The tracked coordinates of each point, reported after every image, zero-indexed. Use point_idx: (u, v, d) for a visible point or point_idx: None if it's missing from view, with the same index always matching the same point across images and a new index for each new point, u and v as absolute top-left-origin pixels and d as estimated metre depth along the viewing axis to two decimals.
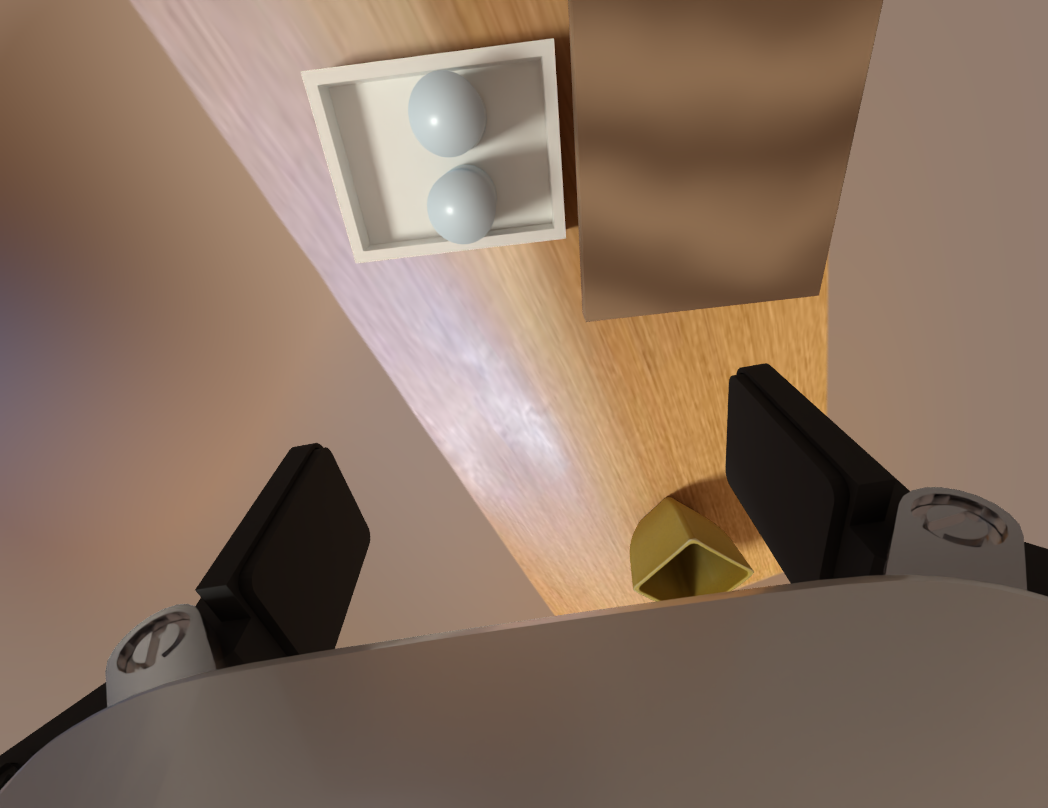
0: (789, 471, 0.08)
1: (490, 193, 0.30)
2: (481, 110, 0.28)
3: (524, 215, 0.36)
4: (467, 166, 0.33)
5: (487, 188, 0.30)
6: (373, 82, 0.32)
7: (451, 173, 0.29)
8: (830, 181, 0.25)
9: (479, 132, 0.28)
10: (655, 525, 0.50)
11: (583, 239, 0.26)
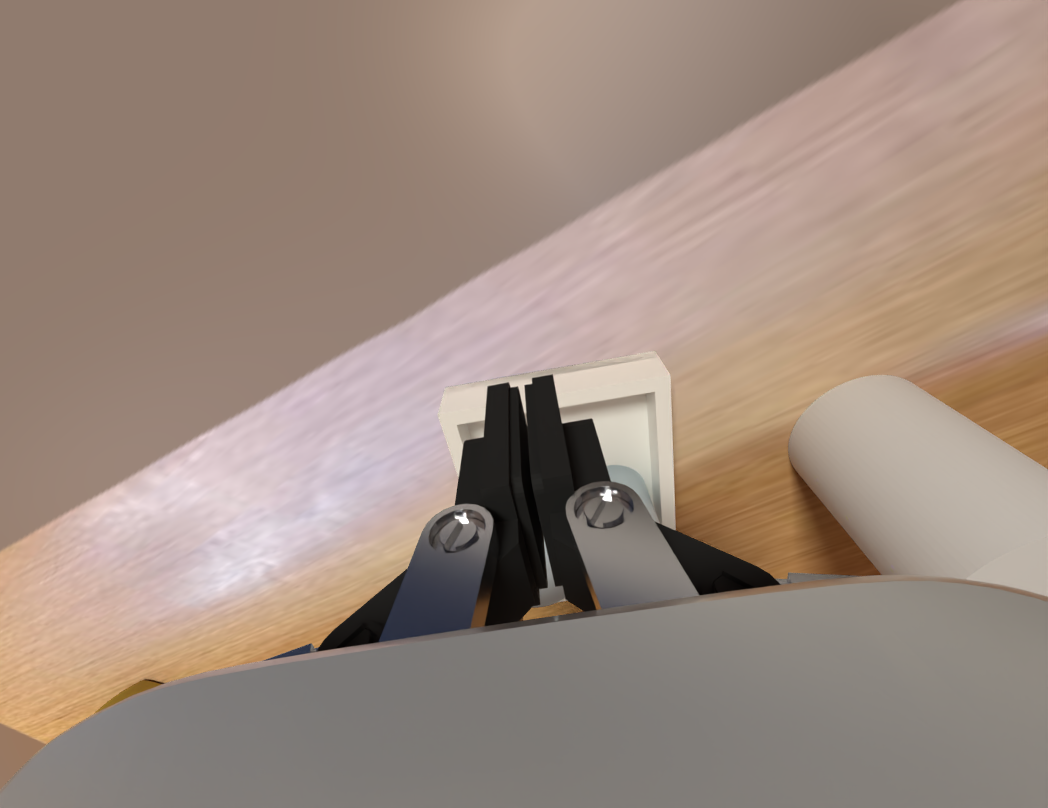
0: None
1: (553, 602, 0.26)
2: None
3: None
4: None
5: (558, 600, 0.26)
6: (646, 419, 0.27)
7: None
8: None
9: None
10: None
11: None
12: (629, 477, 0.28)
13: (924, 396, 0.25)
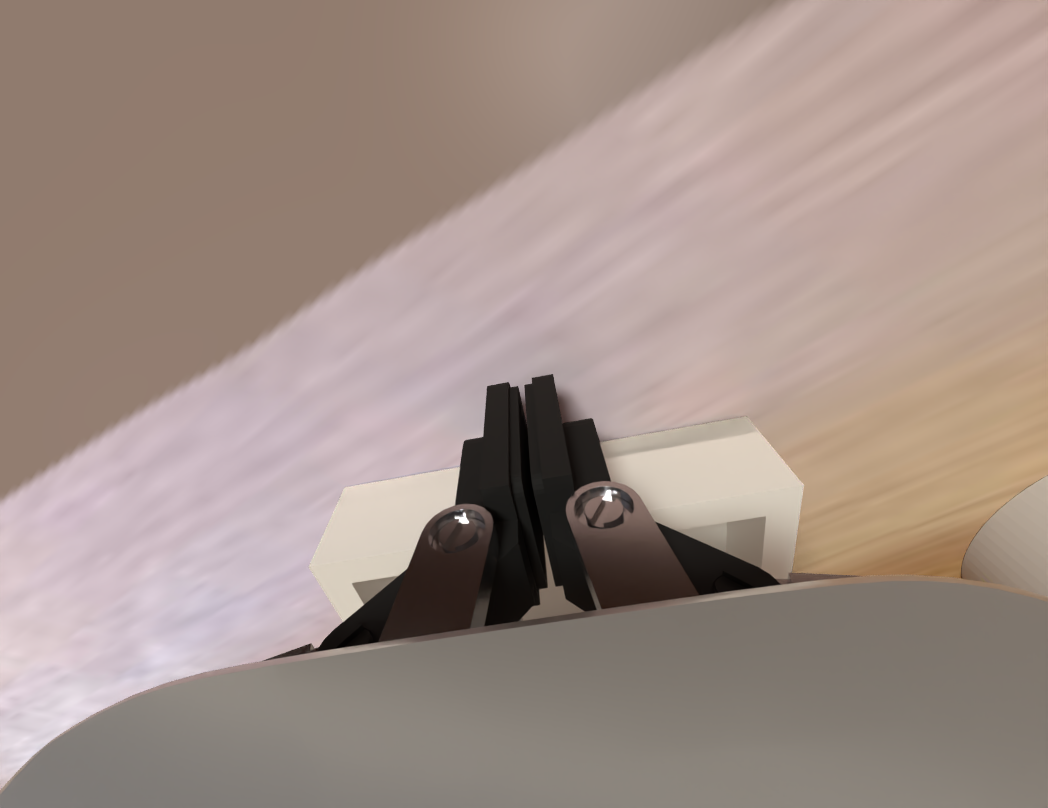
0: None
1: None
2: None
3: None
4: None
5: None
6: (724, 537, 0.15)
7: None
8: None
9: None
10: None
11: None
12: None
13: None
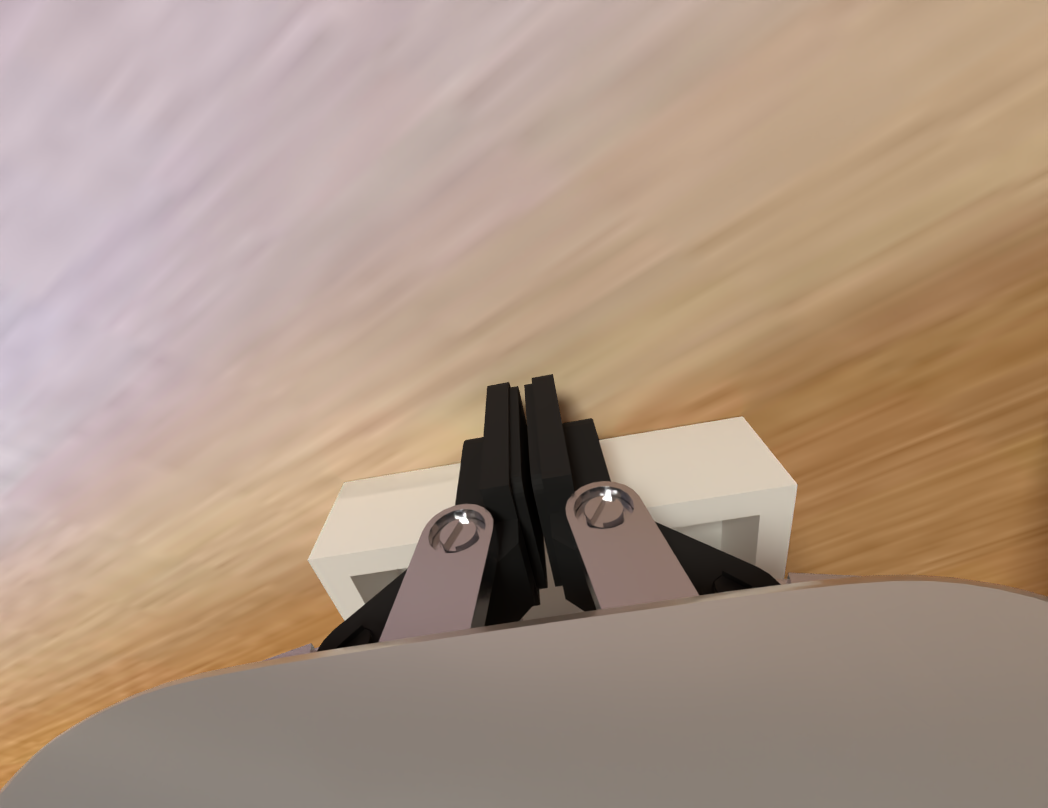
0: None
1: None
2: None
3: None
4: None
5: None
6: (719, 536, 0.15)
7: None
8: None
9: None
10: None
11: None
12: None
13: None
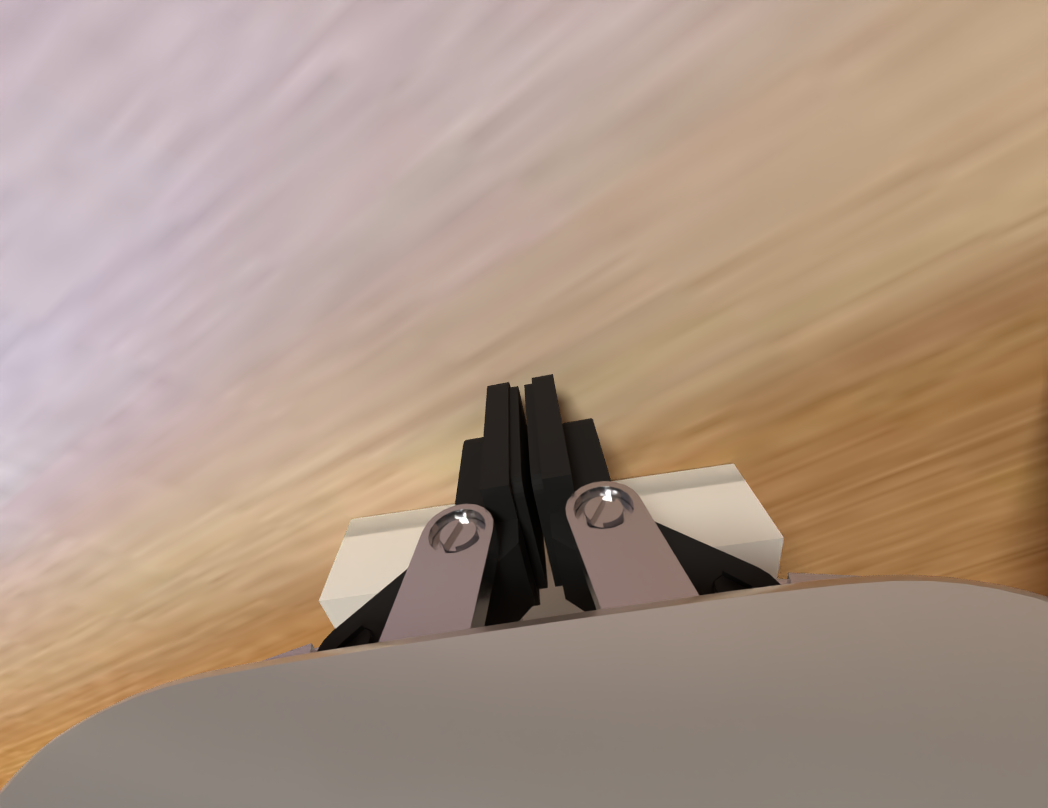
0: None
1: None
2: None
3: None
4: None
5: None
6: None
7: None
8: None
9: None
10: None
11: None
12: None
13: None
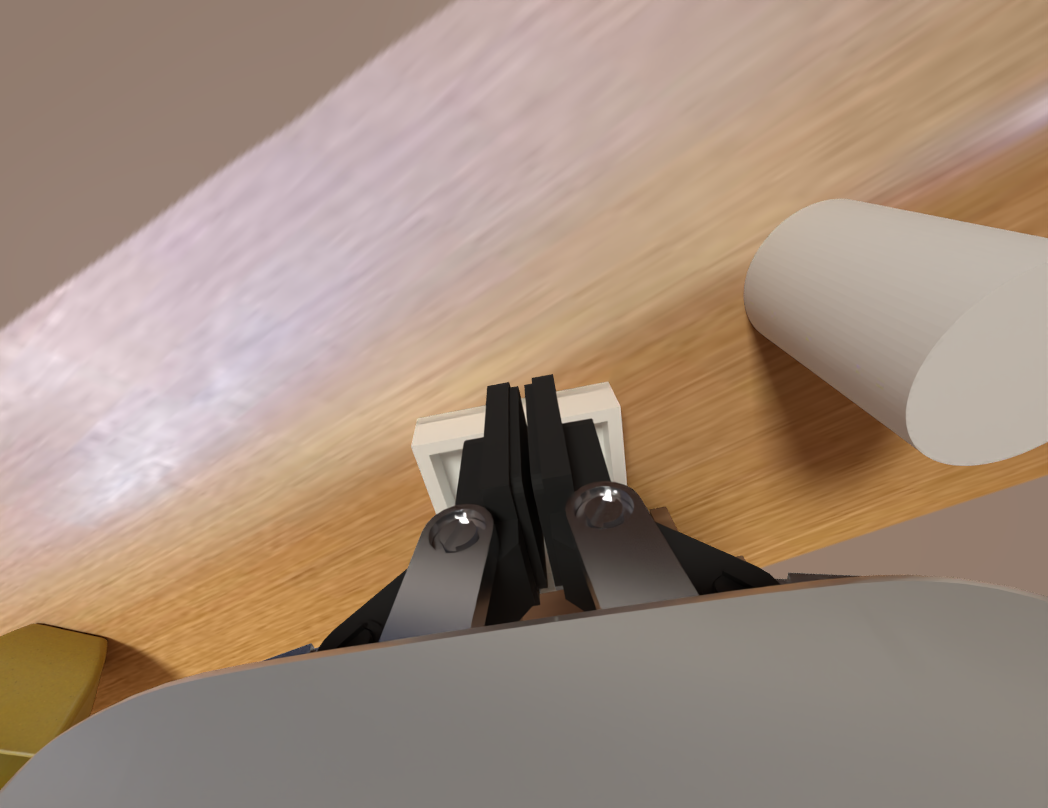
0: None
1: None
2: None
3: None
4: None
5: None
6: (602, 442, 0.30)
7: None
8: None
9: None
10: (42, 669, 0.33)
11: None
12: None
13: None
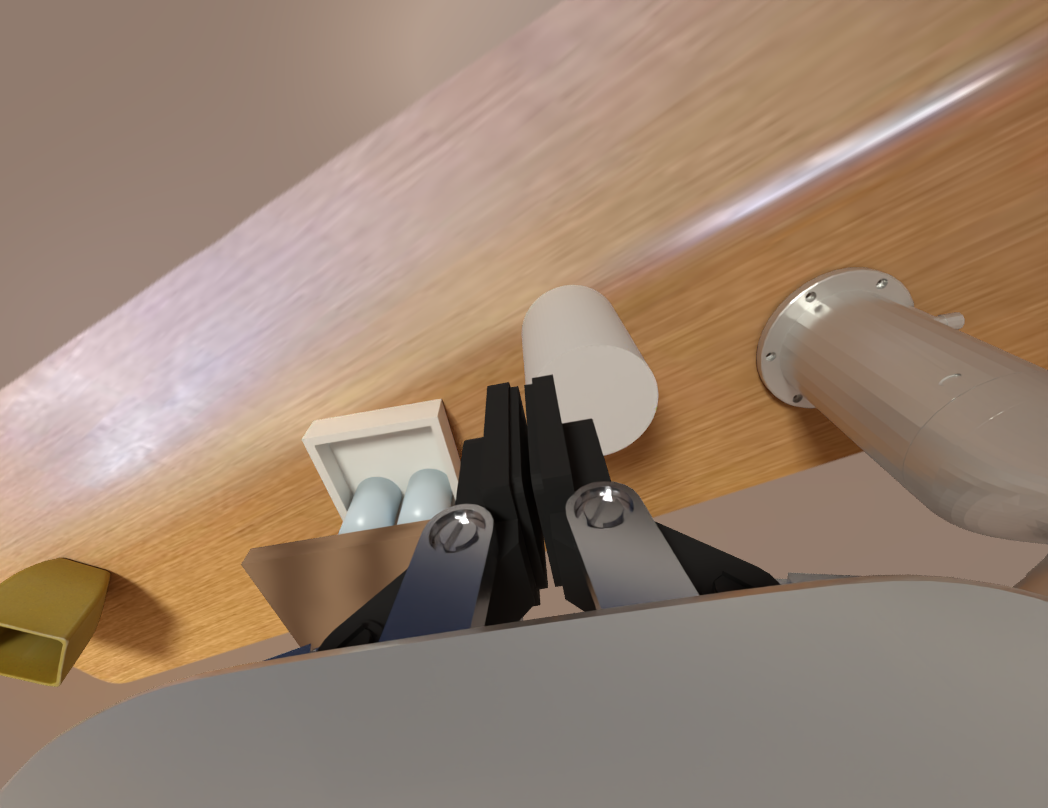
0: None
1: None
2: None
3: None
4: (398, 506, 0.45)
5: None
6: None
7: None
8: None
9: None
10: (65, 586, 0.48)
11: (304, 554, 0.34)
12: (435, 476, 0.45)
13: (585, 295, 0.36)
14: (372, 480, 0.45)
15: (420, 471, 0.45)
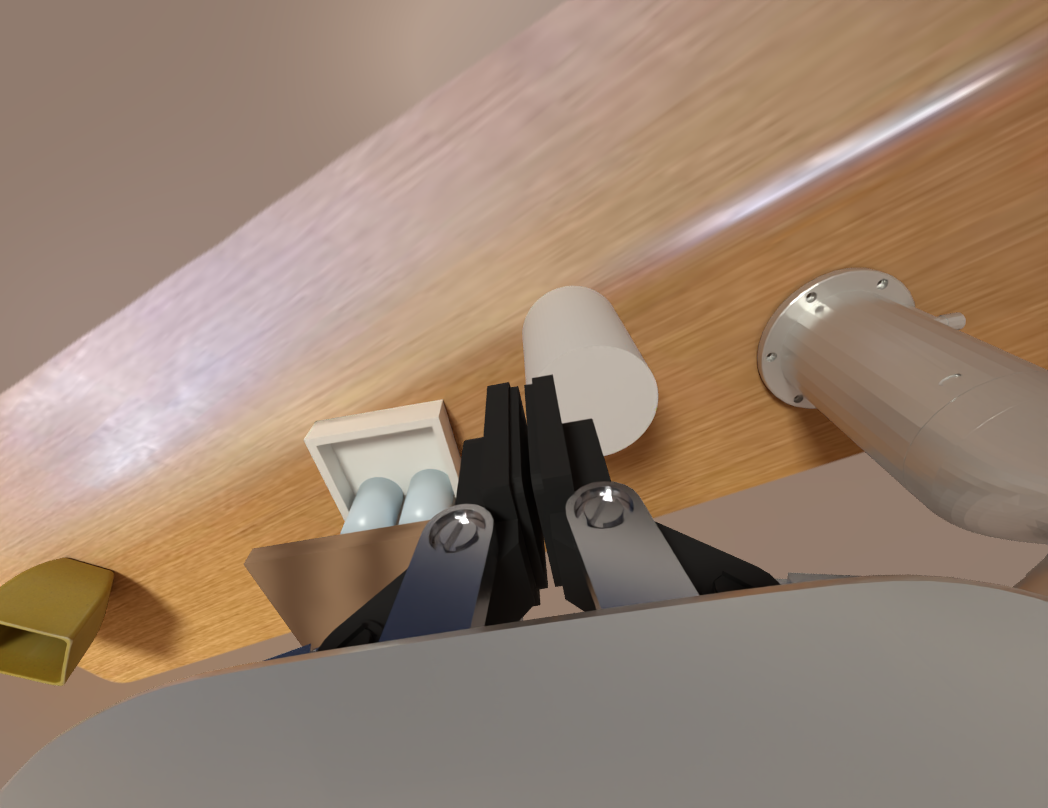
0: None
1: None
2: None
3: None
4: (399, 507, 0.46)
5: None
6: None
7: None
8: None
9: None
10: (69, 586, 0.48)
11: (306, 554, 0.34)
12: (436, 476, 0.45)
13: (586, 295, 0.36)
14: (373, 480, 0.45)
15: (421, 471, 0.45)
